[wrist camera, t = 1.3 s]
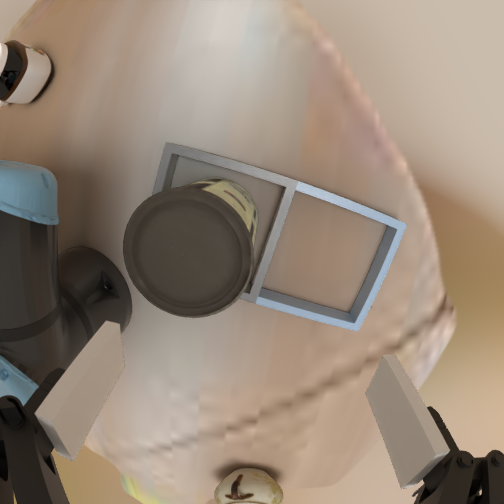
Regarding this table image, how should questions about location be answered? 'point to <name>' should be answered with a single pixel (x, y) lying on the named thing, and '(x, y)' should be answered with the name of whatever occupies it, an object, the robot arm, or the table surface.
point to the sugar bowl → (248, 488)
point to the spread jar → (22, 72)
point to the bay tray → (290, 185)
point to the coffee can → (192, 247)
